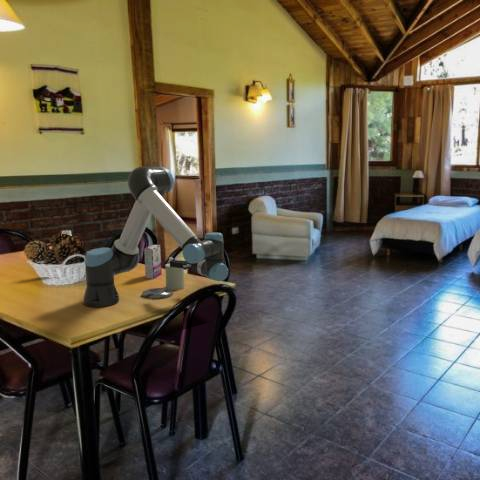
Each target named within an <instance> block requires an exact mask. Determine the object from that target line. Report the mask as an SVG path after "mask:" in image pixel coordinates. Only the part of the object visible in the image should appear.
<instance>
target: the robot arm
mask: <svg viewBox="0 0 480 480" xmlns="http://www.w3.org/2000/svg"><path fill="white" fill-rule="evenodd" d="M174 183H175V181H174V177H173V174H172V173H171V171H170V170H169V169H168V168H167V167H165V166H160V165H154V166H138V167H135V168H134V169H133V170H132V171H131V172H130V173H129V175H128V178H127V186H128V189H129V191H130V194H131V195H132V197H133V198H134V199H135V202H134V204H133V206H132V209H131V211H130V213H129V216H128V218H127V220H126V223H125V225H124V228H123V229H122V232H121V234H120V237H119V238H118V239H115V240H114V242H113V245H112V247H99V248H93V249H90V250H89V251H87V252H86V254H85V255H84V256H85V257H84V265H85V278H86V279H85V280H86V286H85V287H86V288H85V290H84V291H85V292H84V295H83V298H82V301H83V305H84V306H86V307H89V308H104V307H109V306H114V305H116V304H118V303H119V302H120V295H119V293H118V290H117V288H116V285H115V276H117V275H120V274H124V273H127V272H130V271H132V270H133V269H135V268H136V267H137V266H138V264H139V262H140V249H139V247H138V245H139V243H140V241H141V239H142V237H143V235H144V233H145V230H146V228H147V225H148V223H149V220H150V219H151V217H152V216H153V217H154V218H155V219H156V221H158V223H159V224H160V225H161V227H162V228H164V230H165V231H166V232H167V233H168V234H169V236H171V238H173V240H174V241H175V243H176V244H177V245H178V246H179V247H180V248H181V249H182V257H183V259H184V260H177V259H176V258H174V257H171V256H170V257H168V264H169V263H170V267H176V268H183V269H184V270H187V269H192V270H193V271H194V272H195V273H196V274H199V275H201V276H203V277H205V278H207V279H210V280H212V281H215V282H222V281H224V280H226V279H227V277H228V275H229V268H228V267H227V265H226V263H225V261H224V243H225V242H224V237H223V236H224V235H223V233H221V232H206V233H205V235H204V239H203V240H201V239H200V238H199V237H198V235H196V234H195V233H194V231H193V230H192V229H191V228H190V227H189V226H188V225H187V224H186V222H185V221H184V220H183V219H182V218H181V217H180V215H179V214H178V213H177V212H176V211H175V210H174V209H173V208H172V206H171V205H170V204H169V203H168V202H167V200H165V198H164V196H165V194H168V193H170V192H171V191H172V189H173V188H174V185H175V184H174Z"/></svg>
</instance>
